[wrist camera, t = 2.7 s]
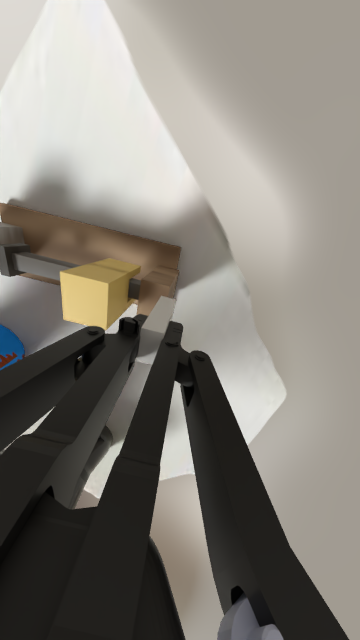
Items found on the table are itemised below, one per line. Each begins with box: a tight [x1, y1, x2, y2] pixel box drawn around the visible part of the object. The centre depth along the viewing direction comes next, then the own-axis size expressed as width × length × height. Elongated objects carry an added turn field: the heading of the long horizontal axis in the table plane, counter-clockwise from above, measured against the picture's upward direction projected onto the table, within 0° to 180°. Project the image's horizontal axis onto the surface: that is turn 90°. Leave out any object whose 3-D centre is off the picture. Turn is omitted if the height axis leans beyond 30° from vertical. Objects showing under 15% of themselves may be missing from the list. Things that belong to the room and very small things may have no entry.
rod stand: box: [0, 203, 181, 316], centre depth 24 cm, size 10×28×10 cm, turn 77°
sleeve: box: [60, 258, 141, 330], centre depth 19 cm, size 4×4×9 cm
